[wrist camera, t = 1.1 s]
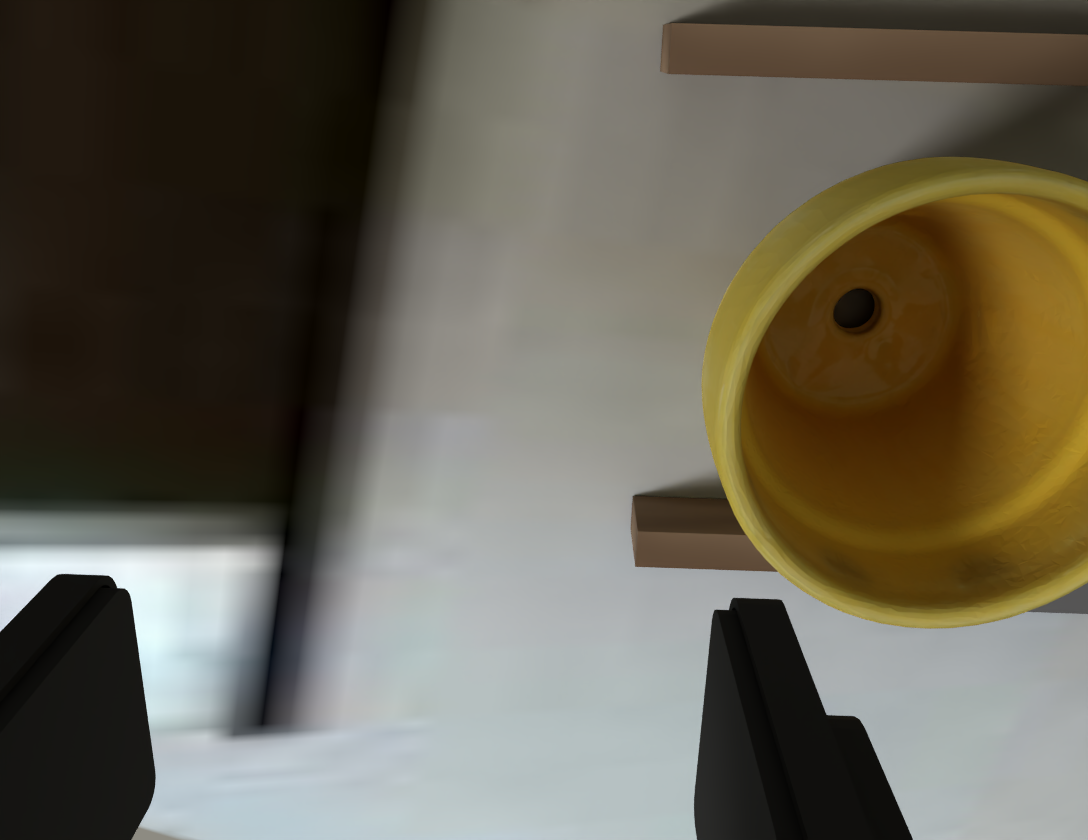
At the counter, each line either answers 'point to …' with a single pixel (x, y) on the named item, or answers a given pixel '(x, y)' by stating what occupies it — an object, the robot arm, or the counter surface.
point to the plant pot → (913, 393)
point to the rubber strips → (1068, 603)
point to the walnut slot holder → (836, 53)
